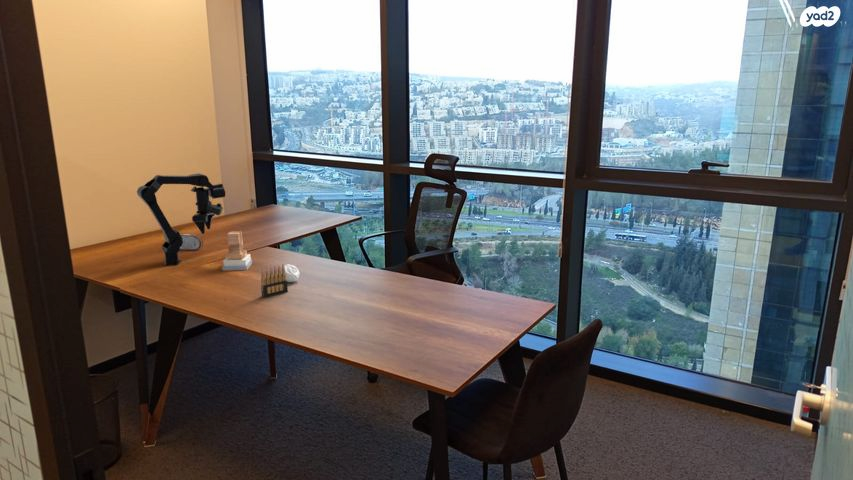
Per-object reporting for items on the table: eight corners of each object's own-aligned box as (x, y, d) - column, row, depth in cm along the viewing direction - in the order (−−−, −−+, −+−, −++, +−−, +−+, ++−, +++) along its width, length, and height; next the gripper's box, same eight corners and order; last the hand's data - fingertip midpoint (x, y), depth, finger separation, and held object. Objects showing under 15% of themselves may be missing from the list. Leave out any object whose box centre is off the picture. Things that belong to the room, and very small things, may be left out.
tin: (204, 249, 300) (202, 233, 298) (201, 251, 297) (199, 235, 295) (176, 248, 301) (174, 232, 299) (173, 250, 298) (171, 234, 296)
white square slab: (245, 265, 267) (245, 260, 267) (223, 265, 267) (223, 260, 266) (250, 259, 277) (250, 254, 276) (229, 259, 276) (228, 254, 276)
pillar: (242, 259, 267) (239, 234, 264) (226, 259, 267) (224, 234, 264) (246, 255, 274) (244, 230, 271) (232, 255, 274) (229, 230, 271)
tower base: (247, 271, 267) (246, 266, 266) (222, 271, 266) (222, 266, 266) (252, 264, 278) (251, 259, 277) (228, 264, 277) (228, 259, 276)
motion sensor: (294, 285, 247) (293, 268, 245) (278, 284, 248) (277, 266, 246) (302, 279, 254) (301, 262, 252) (286, 278, 256) (285, 261, 254)
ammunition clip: (285, 290, 241) (284, 263, 237) (288, 291, 239) (286, 264, 236) (261, 296, 234) (259, 268, 231) (263, 297, 233) (261, 269, 229)
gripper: (214, 203, 271) (217, 236, 275) (225, 196, 289) (227, 226, 293) (190, 204, 270) (193, 236, 274) (202, 196, 288) (205, 226, 292)
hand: (206, 231), depth 283 cm, fingers open, 9 cm apart
